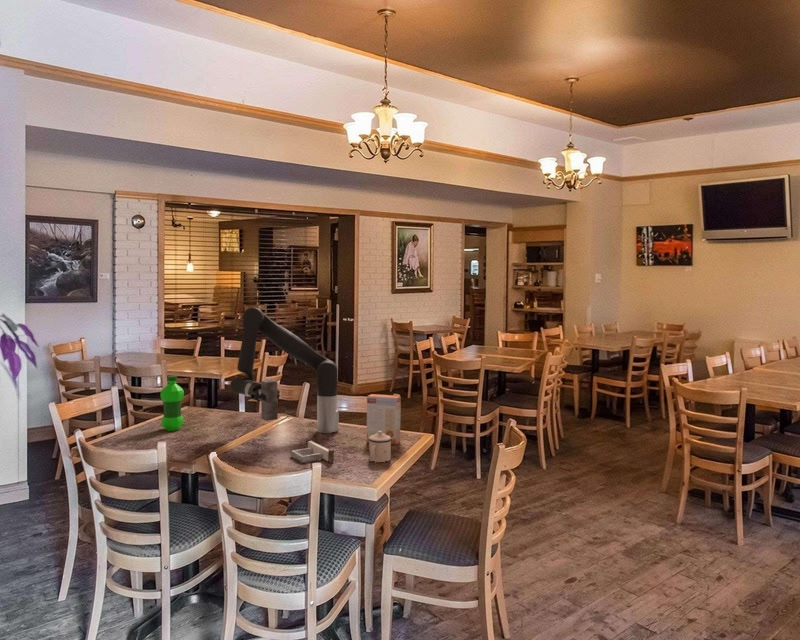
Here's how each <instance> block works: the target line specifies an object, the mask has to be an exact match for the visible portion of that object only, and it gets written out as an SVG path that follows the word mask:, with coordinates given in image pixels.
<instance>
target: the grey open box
mask: <svg viewBox="0 0 800 640" xmlns="http://www.w3.org/2000/svg"><path fill="white" fill-rule="evenodd" d="M308 441H312V439H311V437H307V438H305V448H298V449H293V450H290V458H292V457H293V458H292V459H294V460H296V461H297V460H298V462H300V463H301V464H304V463H310V462H317V461H320V460H319V459H323V453H317V454H313V453H312V448H308ZM328 450H329V462H333V461H334V462H335V459H334V458H335V456H334V455H335V450H334V449H332V448H331V449H328ZM316 460H317V461H316ZM323 460H324V459H323ZM329 462H328V463H329Z"/></svg>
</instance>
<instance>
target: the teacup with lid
mask: <svg viewBox="0 0 800 640" xmlns="http://www.w3.org/2000/svg"><path fill="white" fill-rule="evenodd" d="M368 443H369V444H368V460H369V459H370V460H371V461H370V460H369V461H370V462H372V461H376V462H384V463H386V462H385V461H388V462H389V460H390V461H391V455H392V454H391V451H392V450H391V448H392V447H391V446H392V445H391V437H390V436H388V435H386V434H384V433H383V432H382V431H378V433H376V434H374V435H372V436H370V437H369V442H368ZM376 462H375V463H376Z"/></svg>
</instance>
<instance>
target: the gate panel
mask: <svg viewBox="0 0 800 640" xmlns="http://www.w3.org/2000/svg"><path fill="white" fill-rule="evenodd" d="M308 448H312V454H317V453H323V460H324V459H325V460H324V461H326V460H327V461H326V462H328V461H329V450H330V449H329V448H327V447H324V446H322V445H321V444H318V443H316V442H315V441H313V440H311V441H308Z"/></svg>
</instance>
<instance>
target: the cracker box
mask: <svg viewBox="0 0 800 640" xmlns="http://www.w3.org/2000/svg"><path fill="white" fill-rule="evenodd" d="M401 399H402V398H401V396H400V395H392V394H391V395H389V394H375V393H371V394H369V395H367V396H366V442H367V443H369V437H370V436H372V435H374V434H376V433H378V431H382V432H383V433H384V434H386V435H388V436H390V437H391V444H396V445H398V444H399V443H401V403H402V402H401ZM397 443H398V444H397Z"/></svg>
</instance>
